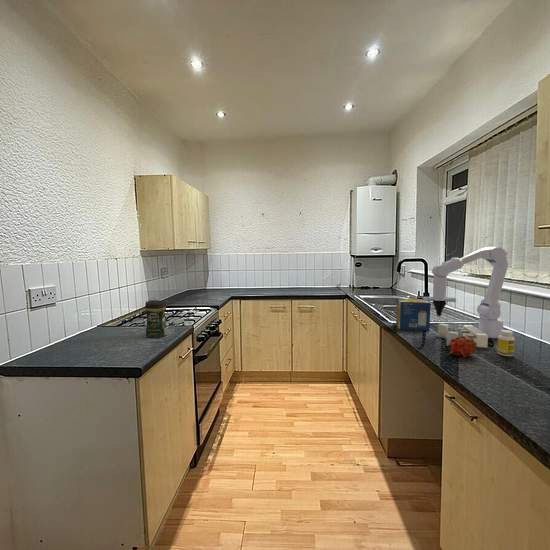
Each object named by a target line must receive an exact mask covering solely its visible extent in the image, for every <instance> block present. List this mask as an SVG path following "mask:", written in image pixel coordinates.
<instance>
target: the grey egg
mask: <svg viewBox="0 0 550 550" xmlns="http://www.w3.org/2000/svg"><path fill="white" fill-rule="evenodd" d="M459 333H460V332H456V331H449V330H448V332H447V338H446V346H447V347H448V345H449V344H450V342H451V340H452V339H456V338H457V337H459Z"/></svg>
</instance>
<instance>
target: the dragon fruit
mask: <svg viewBox="0 0 550 550" xmlns="http://www.w3.org/2000/svg"><path fill="white" fill-rule="evenodd" d="M446 349H447V350H449V353H450V354H451V355H453V356H457V357H458V356H462V357H463V358H467V357H470V355H474V354H477V352H476V351H477V350H478V347H477V343H475V342H474V340H472V339H467V338H466V337H465V336H463V337H459V336H458V337H457V338H456V339H452V340H451V342H450V344H449V345H448V346H447V347H446Z"/></svg>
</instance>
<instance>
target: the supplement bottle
mask: <svg viewBox="0 0 550 550" xmlns="http://www.w3.org/2000/svg"><path fill="white" fill-rule="evenodd" d="M513 335H514V331H513V330H508V329H503V330H501V335H499V336H498V338H497V347H496V348H497V350H496V353H497V354H498V355H500V356H505V357H513V356H514V354H515V353H514V352H515V337H514V336H513Z"/></svg>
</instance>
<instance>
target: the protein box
mask: <svg viewBox="0 0 550 550" xmlns="http://www.w3.org/2000/svg"><path fill="white" fill-rule="evenodd" d="M395 317H396V319H395V325H396V327H397V328H398V330H399V329H402V330H401V331H417V330H419V332H429V331H430V324H431V323H430V322H431V301H423V298H396V313H395Z"/></svg>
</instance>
